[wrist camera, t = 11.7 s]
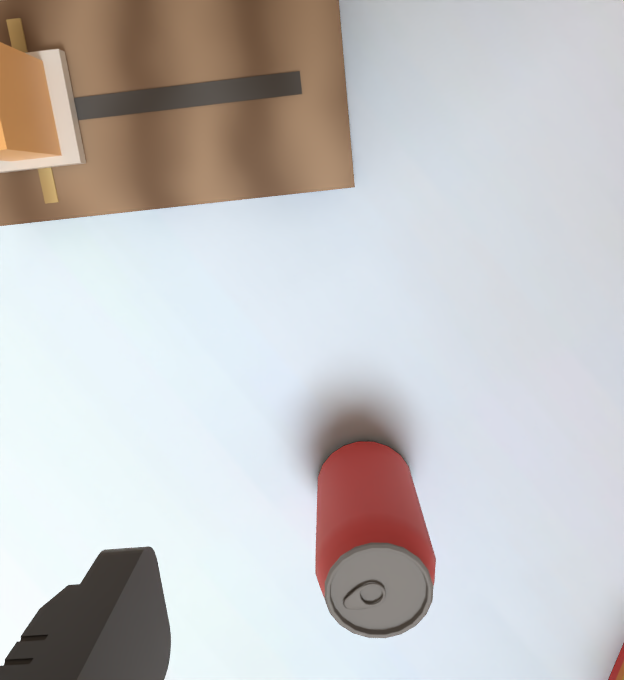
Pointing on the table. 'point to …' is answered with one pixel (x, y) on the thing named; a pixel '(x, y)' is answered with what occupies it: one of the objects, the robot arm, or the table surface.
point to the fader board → (186, 103)
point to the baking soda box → (618, 667)
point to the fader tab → (37, 111)
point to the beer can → (372, 542)
